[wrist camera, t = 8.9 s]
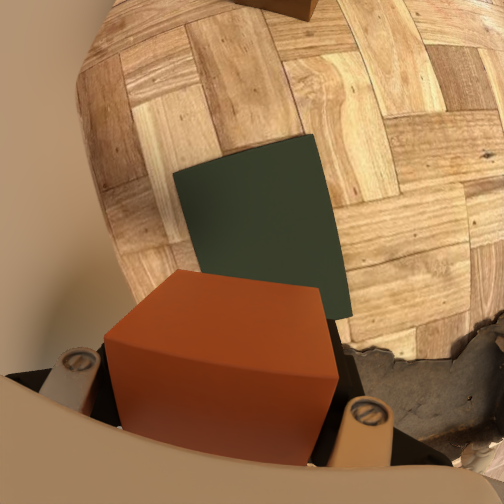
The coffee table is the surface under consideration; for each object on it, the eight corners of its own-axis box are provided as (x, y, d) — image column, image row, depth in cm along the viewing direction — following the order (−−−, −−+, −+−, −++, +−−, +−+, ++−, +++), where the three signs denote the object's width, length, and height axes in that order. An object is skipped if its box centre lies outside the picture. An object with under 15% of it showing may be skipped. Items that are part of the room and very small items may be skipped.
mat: (174, 173, 25) (172, 173, 24) (312, 134, 23) (313, 133, 22) (226, 339, 28) (225, 342, 28) (351, 313, 26) (352, 316, 26)
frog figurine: (444, 455, 30) (457, 487, 24) (479, 427, 29) (496, 457, 22) (458, 462, 31) (470, 491, 24) (490, 436, 29) (506, 463, 22)
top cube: (178, 378, 12) (132, 464, 7) (177, 268, 11) (101, 335, 6) (295, 397, 11) (292, 496, 7) (318, 287, 10) (340, 377, 5)
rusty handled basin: (483, 424, 28) (507, 468, 19) (301, 464, 32) (299, 524, 23) (522, 305, 24) (571, 343, 14) (293, 346, 28) (293, 421, 18)
